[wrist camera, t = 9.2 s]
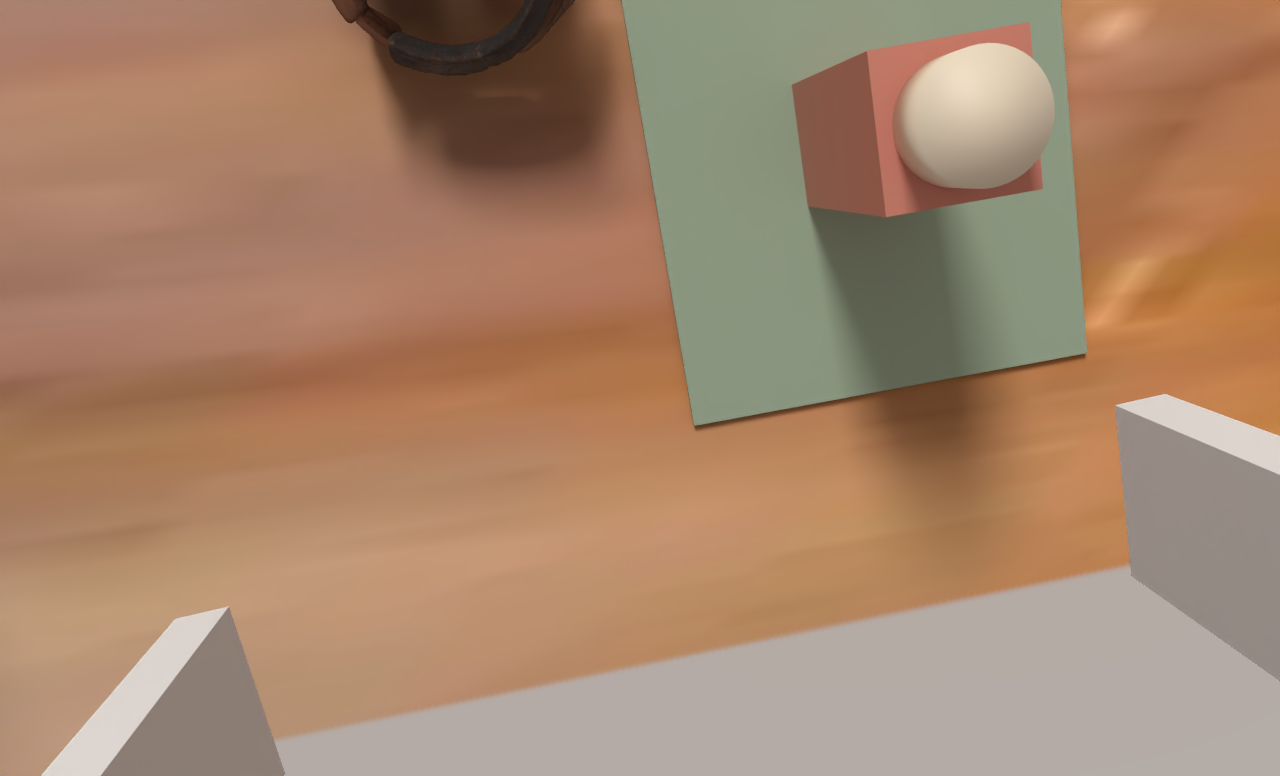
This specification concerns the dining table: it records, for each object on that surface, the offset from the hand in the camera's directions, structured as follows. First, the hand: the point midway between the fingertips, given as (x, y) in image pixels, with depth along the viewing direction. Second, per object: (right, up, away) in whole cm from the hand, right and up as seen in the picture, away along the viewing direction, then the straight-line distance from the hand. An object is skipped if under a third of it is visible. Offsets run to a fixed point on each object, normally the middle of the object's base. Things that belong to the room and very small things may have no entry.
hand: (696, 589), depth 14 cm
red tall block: (+7, +12, +22) cm, 27 cm away
